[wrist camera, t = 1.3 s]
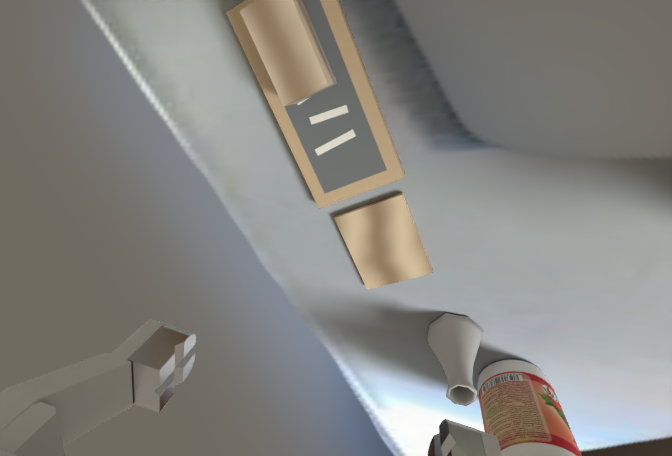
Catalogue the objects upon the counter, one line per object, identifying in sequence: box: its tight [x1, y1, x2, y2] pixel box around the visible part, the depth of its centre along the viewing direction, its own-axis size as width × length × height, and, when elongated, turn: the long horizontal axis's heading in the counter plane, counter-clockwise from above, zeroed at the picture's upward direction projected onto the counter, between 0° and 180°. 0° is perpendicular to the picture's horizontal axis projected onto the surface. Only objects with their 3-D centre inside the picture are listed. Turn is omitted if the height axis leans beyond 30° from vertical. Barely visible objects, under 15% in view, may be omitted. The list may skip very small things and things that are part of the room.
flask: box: [427, 313, 484, 406], centre depth 42 cm, size 7×7×10 cm
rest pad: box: [334, 193, 433, 290], centre depth 43 cm, size 9×11×1 cm
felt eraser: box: [240, 0, 337, 106], centre depth 33 cm, size 5×9×4 cm, turn 25°
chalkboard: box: [226, 0, 405, 209], centre depth 37 cm, size 11×23×2 cm, turn 25°
